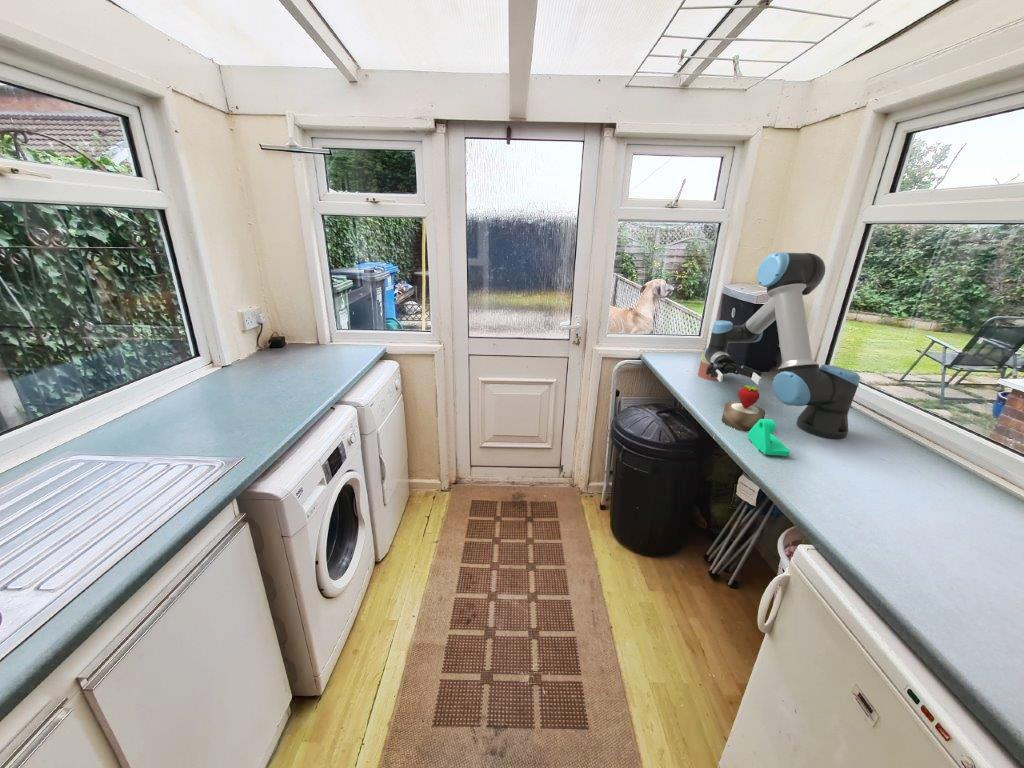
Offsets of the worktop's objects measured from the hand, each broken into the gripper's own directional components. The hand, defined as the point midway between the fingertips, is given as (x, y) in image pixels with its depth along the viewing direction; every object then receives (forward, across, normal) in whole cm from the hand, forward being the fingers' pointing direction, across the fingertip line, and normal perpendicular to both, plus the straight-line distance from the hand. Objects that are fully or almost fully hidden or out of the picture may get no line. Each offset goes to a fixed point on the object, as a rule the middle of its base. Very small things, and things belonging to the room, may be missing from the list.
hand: (740, 380), depth 157 cm
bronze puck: (+10, 0, -14) cm, 17 cm away
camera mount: (+27, -2, -14) cm, 31 cm away
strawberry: (+9, 0, -8) cm, 12 cm away
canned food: (-42, -4, -14) cm, 45 cm away
